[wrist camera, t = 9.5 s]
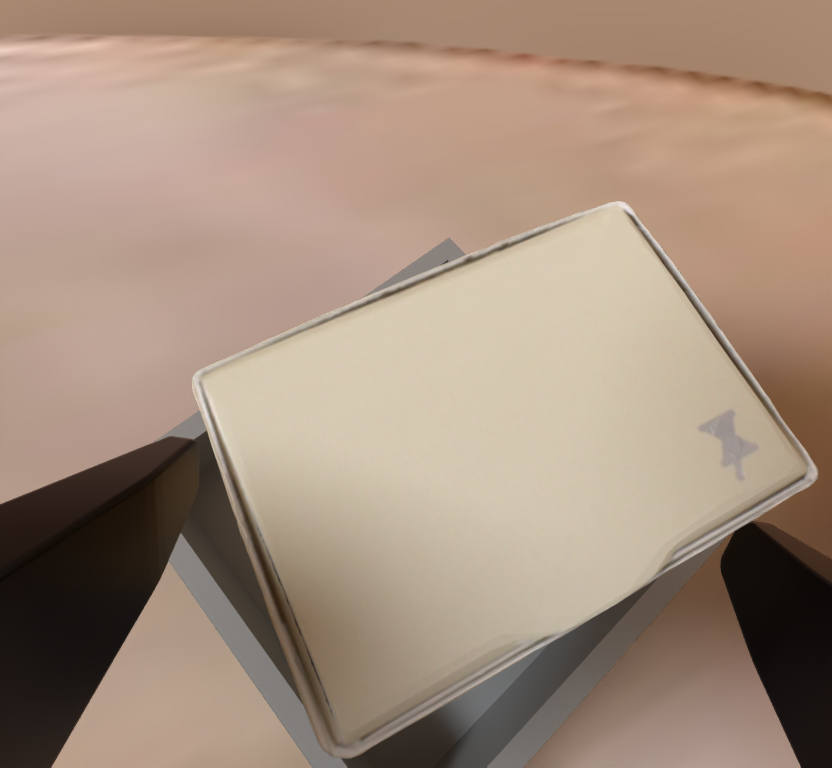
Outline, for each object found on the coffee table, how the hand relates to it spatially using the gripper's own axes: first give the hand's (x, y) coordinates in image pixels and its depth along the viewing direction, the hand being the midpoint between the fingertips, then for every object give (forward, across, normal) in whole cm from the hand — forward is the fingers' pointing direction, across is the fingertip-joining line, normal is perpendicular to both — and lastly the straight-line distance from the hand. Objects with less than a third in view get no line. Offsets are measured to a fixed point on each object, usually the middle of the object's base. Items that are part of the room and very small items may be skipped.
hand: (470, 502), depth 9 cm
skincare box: (+7, 0, +6) cm, 9 cm away
